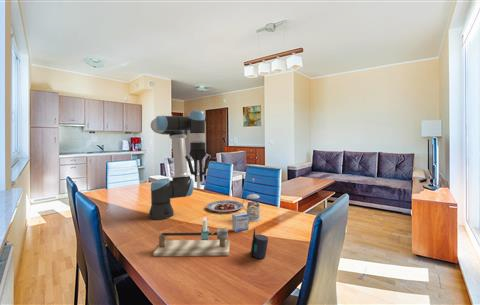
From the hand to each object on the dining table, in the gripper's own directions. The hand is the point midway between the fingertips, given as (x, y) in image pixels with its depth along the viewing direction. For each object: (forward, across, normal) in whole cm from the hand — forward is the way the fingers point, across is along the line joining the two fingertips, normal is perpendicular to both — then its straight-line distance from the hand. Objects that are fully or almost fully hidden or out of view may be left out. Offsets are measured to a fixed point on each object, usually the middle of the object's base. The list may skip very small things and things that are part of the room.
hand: (198, 188), depth 122 cm
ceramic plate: (+25, +10, +45) cm, 52 cm away
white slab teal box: (+19, +5, -16) cm, 26 cm away
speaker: (+25, +29, -22) cm, 44 cm away
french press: (+25, +28, +23) cm, 44 cm away
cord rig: (+24, 0, -16) cm, 29 cm away
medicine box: (+25, +21, +6) cm, 33 cm away
